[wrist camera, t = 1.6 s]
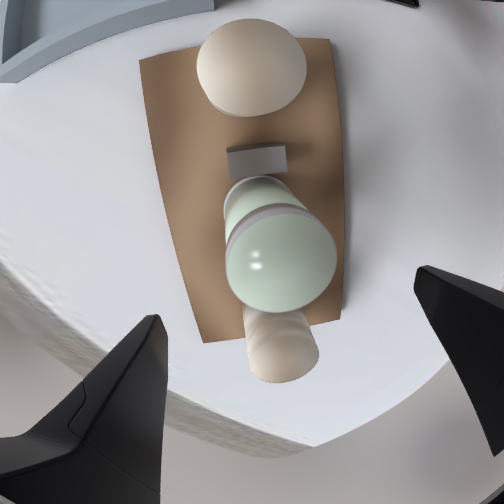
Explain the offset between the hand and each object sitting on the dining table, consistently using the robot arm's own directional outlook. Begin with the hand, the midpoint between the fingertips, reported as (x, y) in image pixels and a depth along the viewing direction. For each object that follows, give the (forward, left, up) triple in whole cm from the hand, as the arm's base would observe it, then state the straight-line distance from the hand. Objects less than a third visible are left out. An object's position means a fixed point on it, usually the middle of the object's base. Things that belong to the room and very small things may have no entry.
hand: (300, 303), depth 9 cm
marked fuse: (0, 0, -11) cm, 11 cm away
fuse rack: (0, 0, -12) cm, 12 cm away
